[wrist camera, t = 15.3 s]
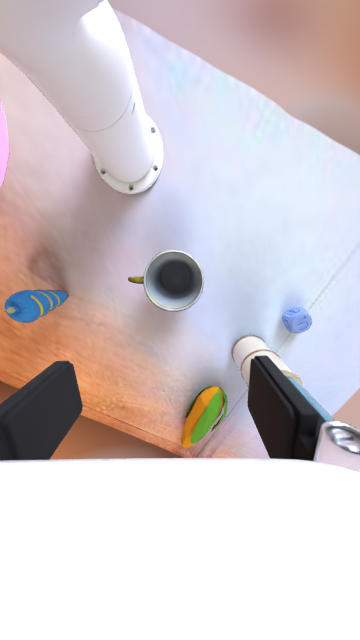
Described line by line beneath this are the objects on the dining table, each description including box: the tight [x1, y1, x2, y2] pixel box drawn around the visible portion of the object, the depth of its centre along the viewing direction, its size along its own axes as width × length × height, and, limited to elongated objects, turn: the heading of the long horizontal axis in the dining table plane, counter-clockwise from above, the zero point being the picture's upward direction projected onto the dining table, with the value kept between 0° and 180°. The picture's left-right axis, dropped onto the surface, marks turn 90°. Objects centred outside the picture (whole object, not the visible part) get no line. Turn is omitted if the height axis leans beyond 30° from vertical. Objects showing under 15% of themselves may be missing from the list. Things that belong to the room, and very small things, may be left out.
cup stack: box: [232, 335, 303, 388], centre depth 38 cm, size 8×8×15 cm
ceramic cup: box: [128, 250, 204, 312], centre depth 36 cm, size 13×10×10 cm
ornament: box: [5, 290, 69, 323], centre depth 36 cm, size 5×5×15 cm
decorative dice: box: [283, 308, 312, 333], centre depth 41 cm, size 4×4×4 cm
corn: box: [181, 386, 227, 448], centre depth 47 cm, size 7×8×20 cm
